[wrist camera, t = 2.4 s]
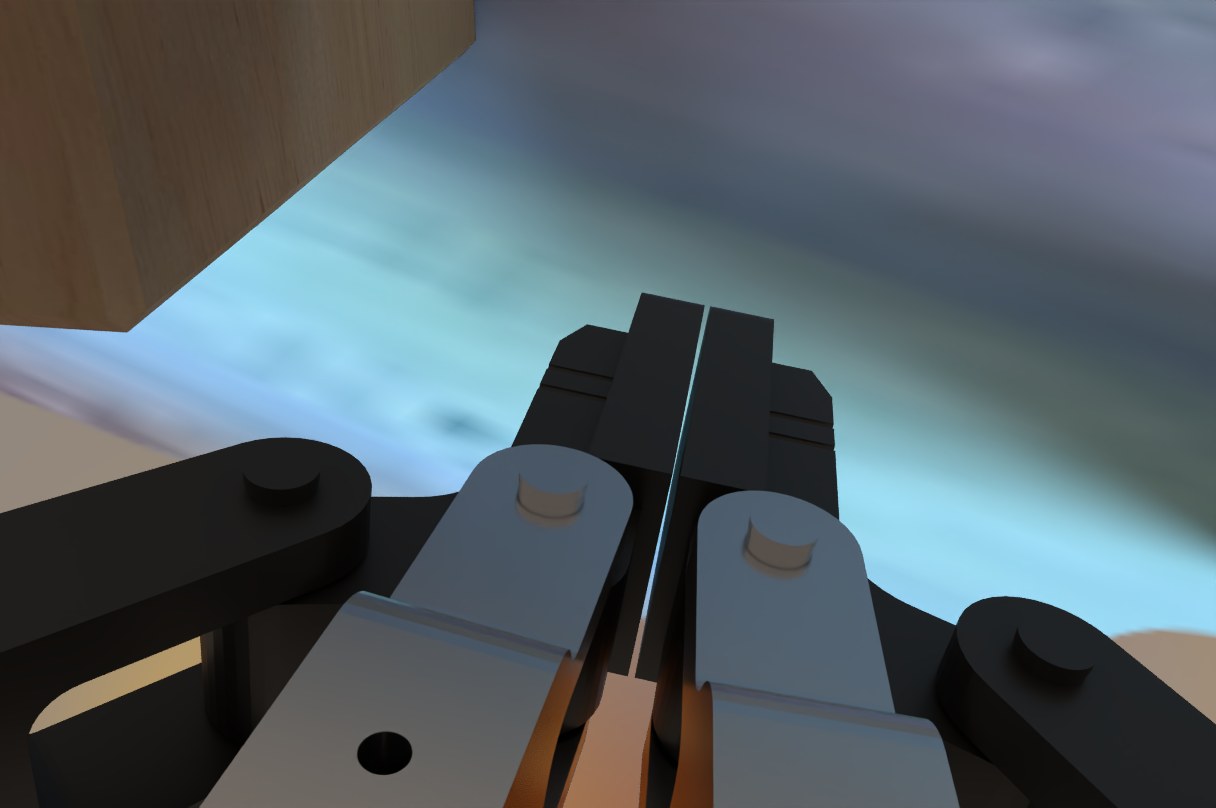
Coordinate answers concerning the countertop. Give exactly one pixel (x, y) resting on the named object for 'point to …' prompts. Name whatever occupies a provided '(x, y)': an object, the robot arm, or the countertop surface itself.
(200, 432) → the countertop surface
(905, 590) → the countertop surface
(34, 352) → the countertop surface
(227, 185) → the decorative block
